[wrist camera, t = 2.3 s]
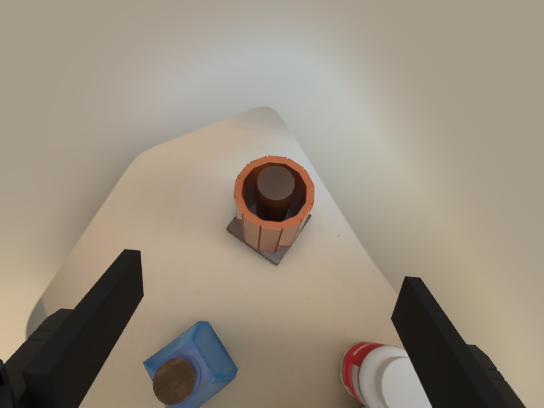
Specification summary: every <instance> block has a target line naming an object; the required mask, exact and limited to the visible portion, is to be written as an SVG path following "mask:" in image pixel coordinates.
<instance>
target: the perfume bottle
mask: <svg viewBox="0 0 544 408" xmlns="http://www.w3.org/2000/svg"><path fill="white" fill-rule="evenodd" d="M143 364H144V366H145V368H146V370H147V372H148V374H149V376H150V378H151V379H152V381H153V390H154V393H155V396H156V397H157V398H158V399H159V401H161V402H162V403H164V404H165V405H166V407H167V408H199V407H200V406H201V405H202V404H203V403H205V402H206V401H207V400H208V399H210V398H211V397H212V396H213V395H215V394H216V393H217V392H218V391H219V390H221V389H222V388H223V387H224V386H226V385H227V384H228V383H229V382H231V381H232V380H233V379H234V378H235V376H236V373H237V370H238V369H237V367H236V366H235V364H234V363H233V361H232V359H231V358H230V356H229V354H228V353H227V351H226V350H225V348H224V346H223V345H222V343H221V342H220V340H219V338H218V337H217V335H216V334H215V332H214V330H213V329H212V327H211V326H210V324H209V322H205V321H199V322H198V323H197V324H195V325H194V326H192V327H191V328H190V329H188V330H187V331H186V332H184V333H183V334H182V335H180V336H179V337H177V338H176V339H175V340H173V341H172V342H171V343H169V344H168V345H166V346H165V347H164V348H162V349H161V350H160V351H158V352H157V353H156V354H154V355H153V356H151V357H150V358H149V359H147V360H146V361H145V362H143Z"/></svg>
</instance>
